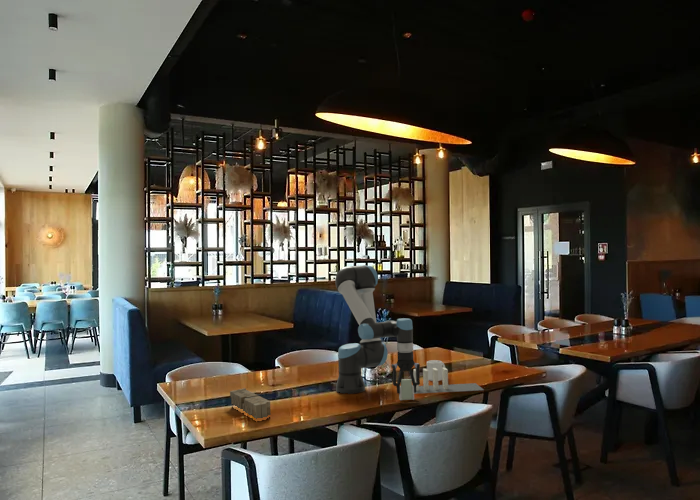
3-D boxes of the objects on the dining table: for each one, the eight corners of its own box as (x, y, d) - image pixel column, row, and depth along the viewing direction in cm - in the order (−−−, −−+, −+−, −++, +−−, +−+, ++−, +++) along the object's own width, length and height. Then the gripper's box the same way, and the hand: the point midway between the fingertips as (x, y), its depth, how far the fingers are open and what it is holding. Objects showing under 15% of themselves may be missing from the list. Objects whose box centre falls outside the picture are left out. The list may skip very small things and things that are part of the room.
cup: (424, 380, 294) (423, 361, 294) (439, 376, 301) (439, 358, 301) (434, 382, 287) (434, 364, 287) (450, 379, 294) (450, 360, 294)
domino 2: (415, 391, 269) (415, 371, 269) (413, 388, 274) (413, 369, 274) (418, 390, 270) (418, 371, 270) (416, 388, 275) (416, 368, 275)
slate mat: (401, 395, 264) (401, 394, 264) (396, 388, 278) (396, 387, 278) (484, 391, 268) (484, 390, 268) (475, 384, 282) (475, 383, 282)
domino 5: (445, 389, 271) (444, 369, 271) (442, 387, 276) (442, 367, 276) (448, 389, 271) (447, 369, 271) (445, 386, 276) (445, 367, 276)
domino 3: (425, 390, 270) (425, 370, 270) (423, 388, 275) (422, 368, 275) (428, 390, 270) (428, 370, 270) (426, 387, 275) (425, 368, 275)
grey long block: (272, 421, 233) (245, 404, 257) (272, 402, 233) (245, 386, 257) (255, 425, 229) (230, 407, 253) (255, 405, 229) (229, 389, 253)
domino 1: (412, 400, 255) (411, 379, 255) (401, 401, 254) (401, 380, 254) (411, 399, 256) (411, 378, 256) (401, 400, 256) (400, 379, 256)
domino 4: (435, 390, 270) (434, 370, 270) (433, 387, 275) (432, 368, 275) (438, 389, 270) (437, 370, 270) (436, 387, 275) (435, 368, 275)
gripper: (387, 353, 251) (388, 403, 251) (425, 351, 252) (427, 401, 252) (385, 350, 258) (386, 398, 258) (422, 348, 260) (423, 396, 260)
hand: (406, 399), depth 255 cm, fingers open, 5 cm apart
